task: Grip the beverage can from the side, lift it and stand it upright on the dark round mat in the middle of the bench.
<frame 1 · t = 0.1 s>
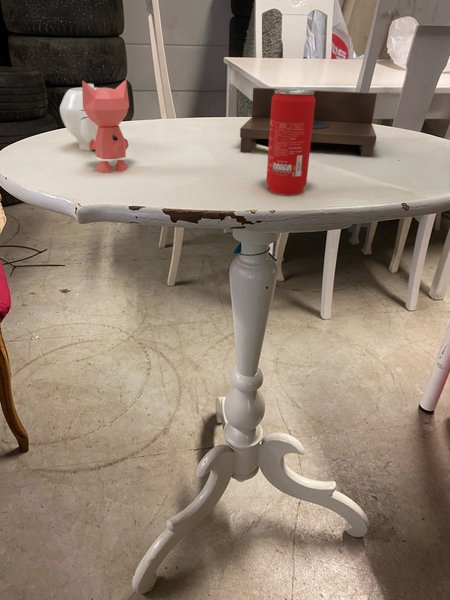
cat figurine: (113, 171, 69), on the table
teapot: (94, 149, 81), on the table
bench: (306, 148, 83), on the table
beverage can: (285, 191, 61), on the table
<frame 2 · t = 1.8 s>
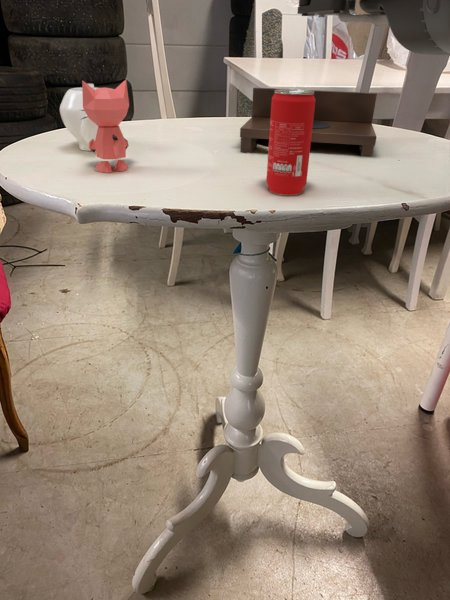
hand: (348, 4, 43), 20 cm above the table, tool horizontal, fingers open, 8 cm apart
nothing on the table moved.
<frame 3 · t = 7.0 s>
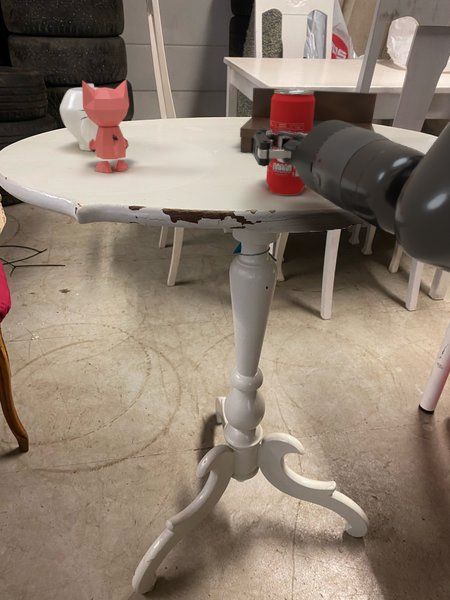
hand: (282, 134, 60), 7 cm above the table, tool horizontal, fingers closed on beverage can, 5 cm apart
beverage can: (285, 191, 61), on the table, touching gripper
everything else where it was.
when the fingers open (11 cm above the table, at t = 16.3 s): beverage can stays where it is, resting on bench.
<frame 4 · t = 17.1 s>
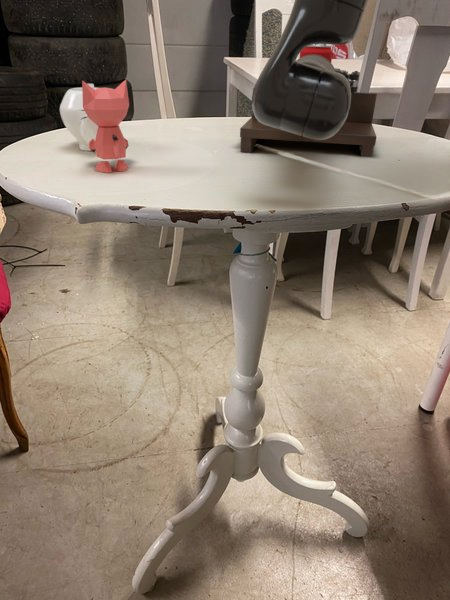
hand: (314, 76, 79), 12 cm above the table, tool horizontal, fingers open, 8 cm apart
beverage can: (308, 125, 81), point 4 cm above the table, touching bench
everything else where it was.
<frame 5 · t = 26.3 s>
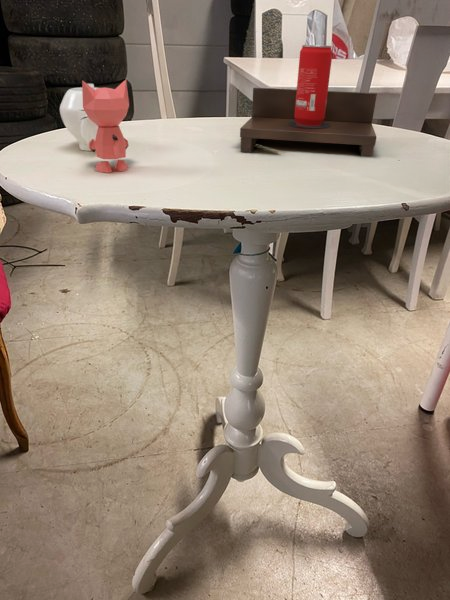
nothing on the table moved.
at the end: beverage can inside the target area on the bench (0.1 cm from its centre), point 4.0 cm above the bench's base; beverage can tilted 0°; the gripper is holding nothing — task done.
